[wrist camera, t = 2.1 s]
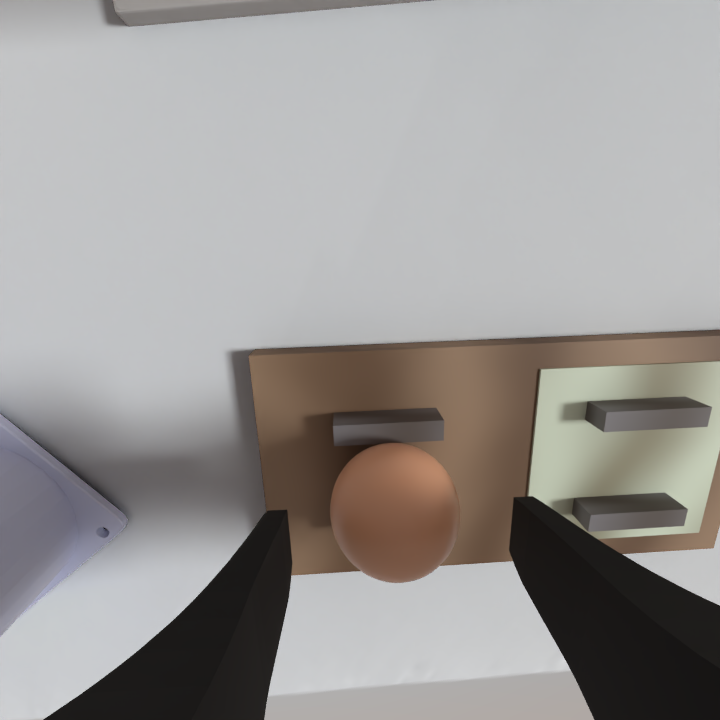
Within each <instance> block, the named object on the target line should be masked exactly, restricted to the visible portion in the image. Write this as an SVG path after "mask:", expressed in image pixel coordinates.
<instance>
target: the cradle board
mask: <svg viewBox="0 0 720 720" xmlns="http://www.w3.org/2000/svg"><path fill="white" fill-rule="evenodd" d="M249 364H250V373H251V382H252V390H253V399H254V408H255V416H256V425H257V433H258V442H259V451H260V459H261V468H262V477H263V485H264V494H265V503H266V511H269V510H287V512H288V522H289V533H290V543H291V553H292V573H291V575H305V574H320V573H336V572H351V571H360V570H359V569H358V568H357V567H355V566H354V565H353V564H352V563H351V562H350V561H349V560H348V558H347V557H346V556H345V555H344V553H343V552H342V550H341V549H340V547H339V545H338V543H337V540H336V538H335V536H334V532H333V529H332V525H331V518H330V503H331V497H332V492H333V488H334V485H335V483H336V480H337V478H338V476H339V474H340V473H341V471H342V470H343V468H344V467H345V466H346V465H347V463H348V462H349V461H350V460H351V459H352V458H353V457H355V456H356V455H357V454H359V453H360V452H362V451H363V450H365V449H367V448H369V447H372V446H375V445H378V444H383V443H403V444H408V445H412V446H414V447H417V448H419V449H421V450H423V451H425V452H427V453H428V454H430V455H431V456H432V457H434V458H435V459H436V460H437V461H438V462H439V463H440V464H441V465H442V466H443V467H444V469H445V470H446V471H447V473H448V474H449V476H450V478H451V480H452V481H453V483H454V486H455V489H456V491H457V494H458V498H459V504H460V528H459V532H458V536H457V539H456V542H455V544H454V546H453V548H452V550H451V552H450V554H449V555H448V557H447V558H446V559H445V561H444V562H443V563H442V564H441V565H440V566H444V565H460V564H475V563H491V562H506V561H513V559H512V557H511V554H510V552H509V544H510V533H511V521H512V510H513V499H514V497H526V496H533V497H535V498H536V499H538V500H540V501H541V502H543V503H544V504H546V505H547V506H549V507H550V508H552V509H553V510H555V511H556V512H558V513H559V514H561V515H562V516H564V517H565V518H567V519H568V520H570V521H571V522H572V523H574V524H575V525H577V526H578V527H580V528H581V529H583V530H584V531H586V532H587V533H589V534H590V535H592V536H594V537H595V538H597V539H598V540H600V541H601V542H603V543H604V544H606V545H608V546H609V547H611V548H612V549H614V550H616V551H617V552H619V553H621V554H630V553H646V552H661V551H677V550H692V549H708V548H714V544H715V541H716V537H717V533H718V529H719V525H720V330H707V331H683V332H659V333H635V334H612V335H588V336H564V337H540V338H516V339H493V340H469V341H445V342H421V343H397V344H373V345H350V346H326V347H302V348H278V349H255V350H254V351H253V352H252V353H251V354H250V355H249Z"/></svg>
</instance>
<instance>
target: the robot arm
mask: <svg viewBox="0 0 720 720" xmlns="http://www.w3.org/2000/svg"><path fill="white" fill-rule="evenodd" d="M127 522H128V520H127V517H126V516H125V515H124V513H122V512H121V511H120V510H119V509H117V508H116V507H115V506H114V505H112V504H111V503H110V502H109V501H107V500H106V499H105V498H104V497H103V496H101V495H100V494H99V493H98V492H96V491H95V490H94V489H93V488H91V487H90V486H89V485H88V484H86V483H85V482H84V481H83V480H82V479H80V478H79V477H78V476H77V475H75V474H74V473H73V472H72V471H70V470H69V469H68V468H67V467H65V466H64V465H63V464H62V463H60V462H59V461H58V460H57V459H56V458H54V457H53V456H52V455H51V454H49V453H48V452H47V451H46V450H44V449H43V448H42V447H41V446H39V445H38V444H37V443H36V442H35V441H33V440H32V439H31V438H30V437H28V436H27V435H26V434H25V433H23V432H22V431H21V430H20V429H18V428H17V427H16V426H15V425H13V424H12V423H11V422H10V421H9V420H7V419H6V418H5V417H4V416H2V415H1V414H0V637H1V636H2V635H3V634H4V633H5V631H6V630H7V629H8V628H9V627H10V626H11V625H12V624H13V623H14V622H15V620H16V619H17V618H18V617H20V616H21V615H22V614H23V613H24V612H26V611H27V610H28V609H29V608H30V607H32V606H33V605H34V604H35V603H36V602H38V601H39V600H40V599H41V598H42V597H44V596H45V595H46V594H47V593H48V592H50V591H51V590H52V589H53V588H54V587H56V586H57V585H58V584H59V583H60V582H62V581H63V580H64V579H65V578H67V577H68V576H69V575H70V574H71V573H73V572H74V571H75V570H76V569H77V568H79V567H80V566H81V565H82V564H83V563H85V562H86V561H87V560H88V559H89V558H91V557H92V556H93V555H94V554H95V553H97V552H98V551H99V550H100V549H101V548H103V547H104V546H105V545H106V544H107V543H109V542H110V541H111V540H112V539H113V538H115V537H116V536H117V535H118V534H119V533H121V532H122V530H123V529H124V528H125V527H126V525H127ZM103 527H104V528H106V529H108V531H107V530H104V528H103ZM509 552H510V554H511V557H512V559H513V562H514V564H515V567H516V569H517V572H518V574H519V576H520V579H521V581H522V583H523V585H524V587H525V589H526V591H527V592H528V594H529V596H530V598H531V600H532V601H533V603H534V605H535V607H536V609H537V610H538V612H539V614H540V616H541V617H542V619H543V621H544V623H545V624H546V626H547V628H548V630H549V632H550V633H551V635H552V637H553V639H554V640H555V642H556V644H557V646H558V647H559V649H560V651H561V653H562V655H563V656H564V658H565V660H566V662H567V664H568V665H569V667H570V669H571V671H572V673H573V675H574V677H575V679H576V681H577V683H578V685H579V687H580V689H581V691H582V694H583V696H584V698H585V700H586V702H587V705H588V707H589V709H590V711H591V713H592V715H593V717H594V720H720V606H719V605H717V604H715V603H713V602H711V601H708V600H706V599H704V598H702V597H700V596H698V595H696V594H694V593H692V592H690V591H688V590H686V589H684V588H682V587H680V586H678V585H676V584H674V583H672V582H670V581H668V580H666V579H665V578H663V577H661V576H659V575H657V574H655V573H653V572H651V571H650V570H648V569H646V568H644V567H643V566H641V565H639V564H637V563H636V562H634V561H632V560H631V559H629V558H627V557H626V556H624V555H622V554H621V553H619V552H617V551H616V550H614V549H612V548H611V547H609V546H608V545H606V544H604V543H603V542H601V541H600V540H598V539H597V538H595V537H594V536H592V535H590V534H589V533H587V532H586V531H584V530H583V529H581V528H580V527H578V526H577V525H575V524H574V523H572V522H571V521H570V520H568V519H567V518H565V517H564V516H562V515H561V514H559V513H558V512H556V511H555V510H553V509H552V508H550V507H549V506H547V505H546V504H544V503H543V502H541V501H540V500H538V499H536V498H535V497H533V496H526V497H514V499H513V510H512V521H511V533H510V544H509ZM291 573H292V553H291V543H290V533H289V522H288V512H287V510H269V511H267V512H266V513H265V514H264V515H263V517H262V518H261V519H260V521H259V522H258V524H257V525H256V526H255V528H254V529H253V531H252V532H251V533H250V535H249V536H248V537H247V539H246V540H245V541H244V543H243V544H242V545H241V546H240V548H239V549H238V550H237V551H236V553H235V554H234V555H233V556H232V558H231V559H230V560H229V561H228V563H227V564H226V565H225V566H224V567H223V568H222V570H221V571H220V572H219V573H218V574H217V575H216V576H215V578H214V579H213V580H212V581H211V582H210V583H209V584H208V586H207V587H206V588H205V589H204V590H203V591H202V592H201V593H200V594H199V595H198V596H197V597H196V598H195V599H194V600H193V601H192V602H191V603H190V604H189V605H188V606H187V607H186V608H185V609H184V610H183V611H182V612H181V613H180V614H179V615H178V616H177V617H176V618H175V619H174V620H173V621H172V622H171V623H170V624H169V625H167V626H166V627H165V628H164V629H163V630H162V631H161V632H159V633H158V634H157V635H156V636H155V637H154V638H152V639H151V640H150V641H149V642H148V643H147V644H146V645H144V646H143V647H142V648H141V649H140V650H139V651H137V652H136V653H135V654H134V655H132V656H131V657H130V658H129V659H127V660H126V661H125V662H123V663H122V664H121V665H120V666H118V667H117V668H116V669H114V670H113V671H112V672H110V673H109V674H108V675H106V676H105V677H104V678H102V679H101V680H100V681H98V682H97V683H96V684H94V685H93V686H92V687H90V688H89V689H88V690H86V691H85V692H83V693H82V694H81V695H79V696H78V697H76V698H75V699H73V700H72V701H70V702H69V703H67V704H66V705H64V706H63V707H61V708H60V709H58V710H57V711H55V712H54V713H53V714H51V715H50V716H48V717H47V718H45V719H44V720H264V716H265V709H266V702H267V697H268V691H269V686H270V681H271V676H272V672H273V667H274V663H275V658H276V654H277V649H278V645H279V640H280V636H281V631H282V627H283V622H284V617H285V613H286V608H287V603H288V599H289V591H290V582H291Z"/></svg>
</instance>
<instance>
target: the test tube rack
mask: <svg viewBox="0 0 720 720" xmlns="http://www.w3.org/2000/svg"><path fill="white" fill-rule="evenodd" d="M420 1H432V0H113V5H114V9H115V12H116V14H117V15H118V16H119V17H120V18H121V19H122V20H123V21H124V22H125V23H126V25H127V26H144V25H155V24H167V23H178V22H189V21H201V20H212V19H223V18H235V17H246V16H258V15H269V14H281V13H293V12H304V11H316V10H327V9H339V8H351V7H362V6H374V5H386V4H397V3H409V2H420Z"/></svg>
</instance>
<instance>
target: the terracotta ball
mask: <svg viewBox="0 0 720 720" xmlns="http://www.w3.org/2000/svg"><path fill="white" fill-rule="evenodd" d="M330 518H331V525H332V529H333V532H334V536H335V538H336V540H337V543H338V545H339V547H340V549H341V550H342V552H343V553H344V555H345V556H346V557H347V558H348V560H349V561H350V562H351V563H352V564H353V565H354V566H355V567H357V568H358V569H359V570H360V571H362V572H363V573H365V574H366V575H368V576H371V577H373V578H375V579H378V580H381V581H385V582H391V583H404V582H410V581H414V580H417V579H420V578H422V577H424V576H427V575H428V574H430V573H431V572H433V571H434V570H435V569H437V568H438V567H439V566H440V565H441V564H442V563H443V562H444V561H445V559H446V558H447V557H448V555H449V554H450V552H451V550H452V548H453V546H454V544H455V542H456V539H457V536H458V532H459V528H460V504H459V498H458V494H457V491H456V489H455V486H454V483H453V481H452V480H451V478H450V476H449V474H448V473H447V471H446V470H445V469H444V467H443V466H442V465H441V464H440V463H439V462H438V461H437V460H436V459H435V458H434V457H432V456H431V455H430V454H428V453H427V452H425V451H423V450H421V449H419V448H417V447H414V446H412V445H408V444H403V443H383V444H378V445H375V446H372V447H369V448H367V449H365V450H363V451H362V452H360V453H359V454H357V455H356V456H355V457H353V458H352V459H351V460H350V461H349V462H348V463H347V465H346V466H345V467H344V468H343V470H342V471H341V473H340V474H339V476H338V478H337V480H336V483H335V485H334V488H333V492H332V497H331V503H330Z"/></svg>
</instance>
